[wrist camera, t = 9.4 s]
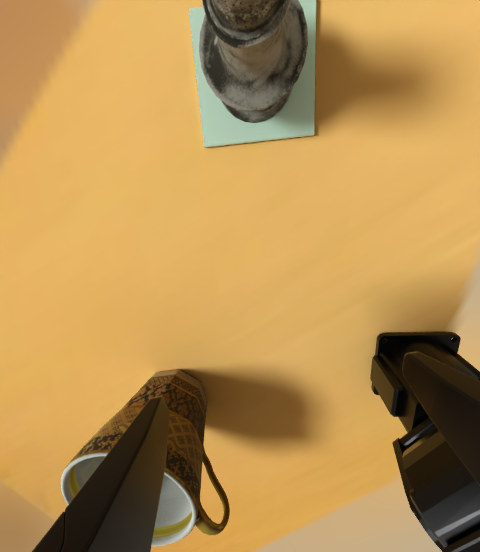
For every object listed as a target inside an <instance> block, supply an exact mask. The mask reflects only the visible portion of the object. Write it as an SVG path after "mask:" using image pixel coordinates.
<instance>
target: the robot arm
mask: <svg viewBox="0 0 480 552" xmlns="http://www.w3.org/2000/svg"><path fill="white" fill-rule="evenodd" d="M384 338H386V339H385V340H384V341H382V340H383V339H384ZM452 338H453V339H452ZM451 339H452V340H451ZM459 344H460V337H459V336H458V335H457V334H455V333H452V332H442V333H382V334H380V335H379V336H378V337H377V343H376V352H375V355H374V357H373V359H372V368H371V378H370V379H371V381H372V390H373V392H374V394H376V395H380V397H381V398H382V400H383V402H384V404H385V405H386V407H387V409H388V411H389V412H390V414H391V415H392V416H393V417H399V419H400V421H401V422H402V424H403V426H404V427H405V429H406V431H407V432H408V433H407V434H406V435H404V436H403V437H402V438H400V439H399V438H398V439H396V440H395V441H394V442H393V447H394V451H395V454H396V458H397V462H398V466H399V470H400V474H401V478H402V481H403V485H404V489H405V493H406V496H407V498H408V501H409V505H410V508H411V510H412V511H413V513H414V514H415V516H416V517H417V519H418V520H419V522H420V523H421V525H422V526H423V528H424V529H425V531H426V532H427V533H428V535H429V536H430V537H431V539H432V540H433V541H434V542H435V543H436V545H437V546H438V547H439V548H440V549H441V550H442V552H480V372H479V371H478V370H477V369H476V368H474V367H473V366H472V365H471V364H469V363H468V362H467V361H466V360H465V359H463V358H462V357H461V356H460V355H459V354H457V352H458V348H459ZM169 417H170V414H169V409H168V407H167V405H166V403H165V400H164V398H163V397H162V396H158V397H153V398H151V399H150V400H149V401H148V402H147V403H146V405H145V406H144V407H143V409H142V410H141V411H140V412H139V414H138V415H137V416H136V418H135V419H134V420H133V422H132V423H131V424H130V425H129V427H128V428H127V429H126V431H125V432H124V433H123V435H122V436H121V437H120V438H119V440H118V441H117V442H116V444H115V445H114V446H113V448H112V449H111V450H110V452H109V453H108V454H107V455H106V457H105V458H104V459H103V461H102V462H101V463H100V465H99V466H98V467H97V468H96V470H95V471H94V472H93V474H92V475H91V476H90V478H89V479H88V480H87V481H86V483H85V484H84V485H83V487H82V488H81V489H80V491H79V492H78V493H77V494H76V496H75V497H74V498H73V500H72V501H71V502H70V504H69V505H68V506H67V507H66V509H65V512H63V513H62V514H61V515H60V516H59V518H58V519H57V520H56V522H55V523H54V524H53V526H52V527H51V528H50V530H49V531H48V532H47V533H46V535H45V536H44V537H43V538H42V540H41V541H40V542H39V543H38V545H37V546H36V547H35V549H34V550H33V551H32V552H150V550H151V545H152V539H153V533H154V528H155V522H156V517H157V511H158V505H159V500H160V494H161V488H162V483H163V477H164V471H165V465H166V455H167V443H168V430H169Z"/></svg>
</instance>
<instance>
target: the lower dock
mask: <svg viewBox="0 0 480 552" xmlns="http://www.w3.org/2000/svg"><path fill="white" fill-rule="evenodd" d="M298 1H299V3H300V4H301V6H302V8H303V11H304V15H305V19H306V22H307V29H308V47H307V53H306V59H305V63H304V66H303V68H302V71H301V73H300V76H299V78H298V80H297V81H296V83H295V84H294V86H293V89H292V91H291V94H290V96H289V99H288V101H287V102H286V104H285V105H284V107H283V108H282V109H281V110H280V111H279V112H278V113H277V114H276V115H275V116H273V117H272V118H270V119H268V120H266V121H263V122H257V123H250V122H244V121H242V120H240V119H237V118H236V117H234V116H233V115H232V114H231V113H230V112H228V110H227V109H226V107H225V106H224V104H223V103H222V101H221V100H220V99H219V98H218V97H217V96H216V95H215V94H214V92H213V91H212V89H211V88H210V86H209V85H208V83H207V81H206V78H205V76H204V73H203V71H202V68H201V61H200V55H199V41H200V31H201V27H202V24H203V20H204V16H205V11H204V8H203V6H202V7H196V8H191V9H189V16H190V25H191V34H192V43H193V52H194V60H195V69H196V78H197V87H198V96H199V105H200V114H201V122H202V131H203V140H204V147H205V148H207V147H216V146H225V145H234V144H243V143H252V142H261V141H270V140H279V139H287V138H296V137H305V136H314V119H315V48H316V0H298Z"/></svg>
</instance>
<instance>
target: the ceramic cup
mask: <svg viewBox="0 0 480 552" xmlns="http://www.w3.org/2000/svg"><path fill="white" fill-rule="evenodd" d="M158 396H162V397H163V398H164V400H165V403H166V405H167V407H168V409H169V414H170V417H169V430H168V443H167V455H166V465H165V471H164V477H163V483H162V488H161V494H160V500H159V505H158V511H157V517H156V522H155V528H154V533H153V539H152V545H151V546H162V545H167V544H171V543H174V542H177V541H179V540H181V539H183V538H184V537H186V536H187V535H188V534H189V533H190V532H191V531H192V529H193V527H194V526H195V525H196V526H197V527H198V528H199V530H201V531H202V532H203V533H205V534H208V535H216V534H219V533H220V532H221V531H223V529H224V528H225V526H226V524H227V522H228V519H229V511H230V509H229V503H228V499H227V496H226V494H225V492H224V490H223V488H222V486H221V485H220V483H219V481H218V479H217V478H216V476H215V474H214V472H213V469H212V466H211V463H210V461H209V459H208V457H207V455H206V453H205V450H204V446H203V442H204V429H205V417H206V407H207V400H206V396H205V394H204V391H203V388H202V385H201V382H200V381H199V380H197V379H195V378H193V377H192V376H190V375H188V374H186V373H184V372H183V371H181V370H170V371H163V372H157V373H155V374H154V375H153V376H152V377H151V378H150V379H149V380H148V381H147V382H146V384H145V385H144V386H143V387H142V388H141V389H140V390H139V391H138V392H137V393H136V394H135V395H134V396H133V397H132V398H131V399H130V400H129V402H128V403H127V404H126V405H125V406H124V407H123V408H122V409H121V410H120V411H119V412H118V413H117V414H116V415H115V416H114V417H112V418H111V419H110V420H109V421H108V422H107V423H106V424H105V425H104V426H103V427H102V428H101V429H100V430H99V431H98V432H97V433H96V434H95V435H94V436H93V437H92V438H91V439H90V440H89V441H88V443H87V444H86V445H85V446H84V447H83V448H82V449H81V450H80V451H79V452H78V454H77V455H76V456H75V457H74V458H73V459H72V460H71V461H70V463H69V464H68V465H67V466H66V468H65V469H64V471H63V474H62V477H61V490H62V494H63V496H64V499H65V501H66V503H67V504H68V505H69V504H70V502H71V501H72V500H73V498H74V497H75V496H76V494H77V493H78V492H79V491H80V489H81V488H82V487H83V485H84V484H85V483H86V481H87V480H88V479H89V478H90V476H91V475H92V474H93V472H94V471H95V470H96V468H97V467H98V466H99V465H100V463H101V462H102V461H103V459H104V458H105V457H106V455H107V454H108V453H109V452H110V450H111V449H112V448H113V446H114V445H115V444H116V442H117V441H118V440H119V438H120V437H121V436H122V435H123V433H124V432H125V431H126V429H127V428H128V427H129V425H130V424H131V423H132V422H133V420H134V419H135V418H136V416H137V415H138V414H139V412H140V411H141V410H142V409H143V407H144V406H145V405H146V403H147V402H148V401H149V400H150V399H151V398H153V397H158ZM202 461H203V463H204V465H205V467H206V470H207V473H208V475H209V478H210V480H211V482H212V484H213V486H214V488H215V489H216V491H217V493H218V495H219V497H220V499H221V501H222V504H223V508H224V516H223V520H222V522H221V523H220V524H216V523H214V522H213V521H212V520H211V519H210V518H209V517H208V516H207V514H206V512H205V511H204V509H203V508H202V505H201V503H200V489H201V472H202Z"/></svg>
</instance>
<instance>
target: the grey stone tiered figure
mask: <svg viewBox="0 0 480 552" xmlns="http://www.w3.org/2000/svg"><path fill="white" fill-rule="evenodd" d="M203 8H204V11H205V16H204V20H203V24H202V27H201V31H200V41H199V55H200V61H201V68H202V71H203V73H204V76H205V78H206V81H207V83H208V85H209V86H210V88H211V89H212V91H213V92H214V94H215V95H216V96H217V97H218V98H219V99H220V100H221V101H222V103H223V104H224V106H225V107H226V109H227V110H228V112H230V113H231V114H232V115H233V116H234V117H236V118H237V119H240V120H242V121H244V122H250V123H257V122H263V121H266V120H268V119H270V118H272V117H273V116H275V115H276V114H277V113H278V112H279V111H280V110H281V109H282V108H283V107H284V105H285V104H286V102H287V101H288V99H289V96H290V94H291V91H292V89H293V86H294V84H295V83H296V81H297V80H298V78H299V76H300V73H301V71H302V68H303V66H304V63H305V59H306V53H307V47H308V29H307V22H306V19H305V15H304V11H303V8H302V6H301V4H300V3H299V1H298V0H203Z"/></svg>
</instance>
